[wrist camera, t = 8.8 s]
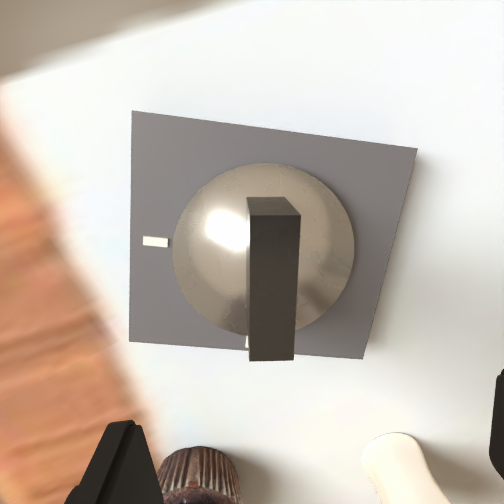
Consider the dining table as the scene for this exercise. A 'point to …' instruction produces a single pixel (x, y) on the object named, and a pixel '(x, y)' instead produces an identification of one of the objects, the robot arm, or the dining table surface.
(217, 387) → the dining table surface
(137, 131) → the control panel
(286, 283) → the dial
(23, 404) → the dining table surface
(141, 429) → the robot arm
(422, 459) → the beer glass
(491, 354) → the dining table surface
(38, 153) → the dining table surface
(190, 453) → the cupcake
